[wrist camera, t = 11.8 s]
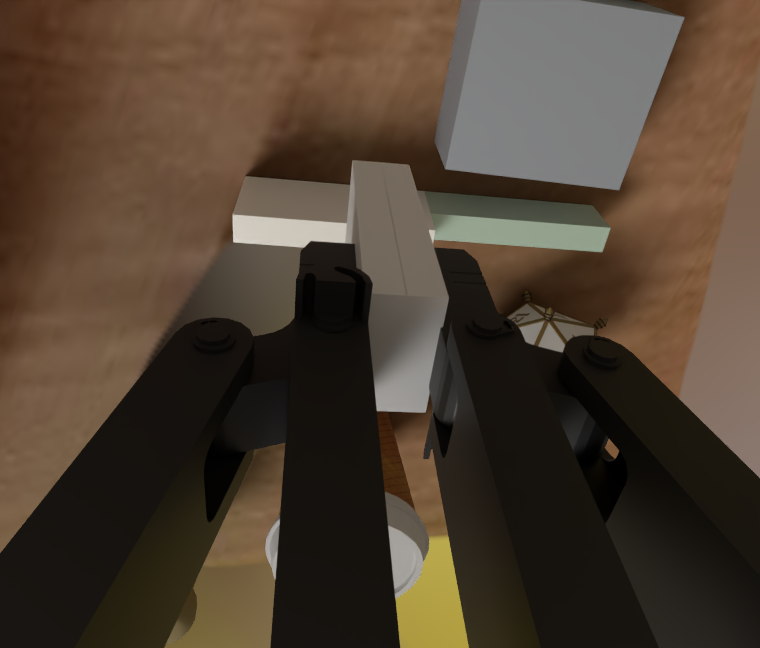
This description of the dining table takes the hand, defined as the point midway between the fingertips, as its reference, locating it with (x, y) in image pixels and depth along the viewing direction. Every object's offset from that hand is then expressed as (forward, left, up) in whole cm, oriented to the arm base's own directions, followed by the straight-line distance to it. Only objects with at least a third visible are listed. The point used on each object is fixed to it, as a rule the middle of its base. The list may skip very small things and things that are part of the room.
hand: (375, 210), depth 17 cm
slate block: (+9, 0, -18) cm, 20 cm away
